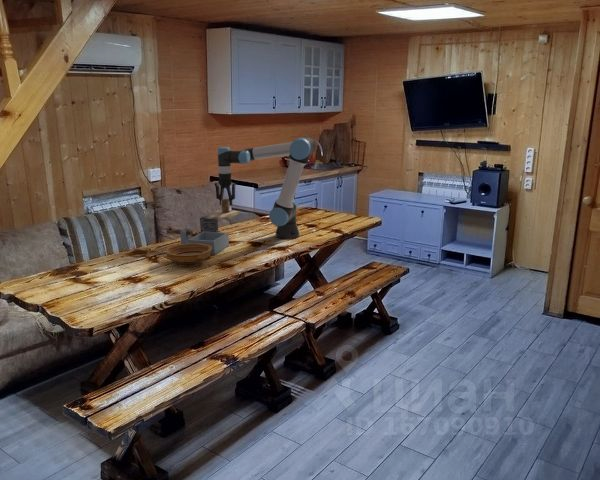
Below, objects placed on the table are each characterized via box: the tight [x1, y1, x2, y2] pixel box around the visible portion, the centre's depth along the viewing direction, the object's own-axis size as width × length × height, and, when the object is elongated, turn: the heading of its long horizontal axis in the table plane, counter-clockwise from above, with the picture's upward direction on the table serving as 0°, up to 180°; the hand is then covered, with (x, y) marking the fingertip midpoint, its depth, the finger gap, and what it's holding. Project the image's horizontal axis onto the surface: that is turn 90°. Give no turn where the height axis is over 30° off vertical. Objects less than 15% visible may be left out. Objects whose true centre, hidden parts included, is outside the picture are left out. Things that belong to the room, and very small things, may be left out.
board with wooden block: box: [204, 198, 241, 220], centre depth 327 cm, size 15×19×9 cm
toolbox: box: [179, 227, 230, 256], centre depth 310 cm, size 22×20×12 cm
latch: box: [166, 227, 194, 236], centre depth 309 cm, size 15×3×3 cm, turn 74°
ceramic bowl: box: [163, 243, 213, 267], centre depth 284 cm, size 30×24×8 cm
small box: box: [199, 216, 219, 233], centre depth 349 cm, size 11×6×10 cm, turn 84°
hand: (226, 210), depth 332 cm, fingers closed on board with wooden block, 4 cm apart
